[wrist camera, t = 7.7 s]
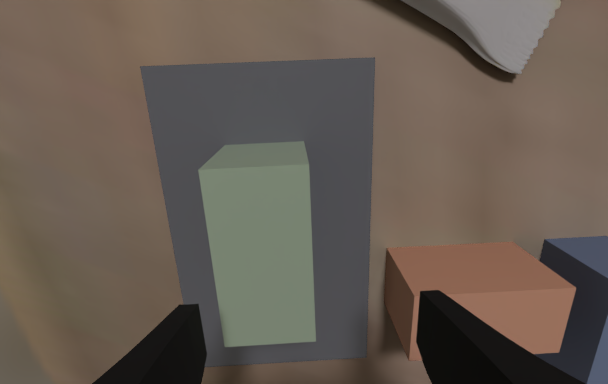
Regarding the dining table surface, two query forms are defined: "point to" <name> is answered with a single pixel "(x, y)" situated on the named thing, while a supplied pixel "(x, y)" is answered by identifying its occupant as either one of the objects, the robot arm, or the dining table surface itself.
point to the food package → (494, 26)
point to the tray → (322, 169)
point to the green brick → (261, 242)
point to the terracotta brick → (480, 291)
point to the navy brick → (582, 306)
